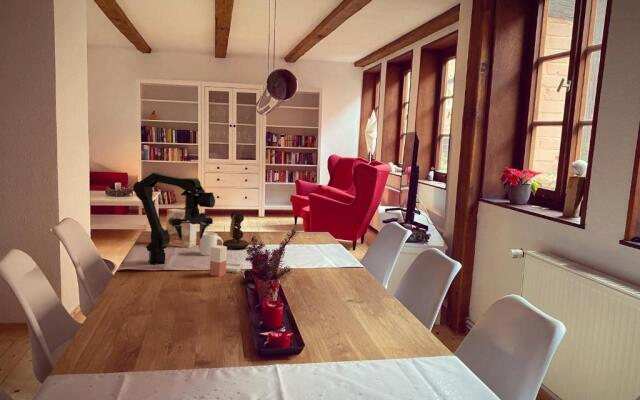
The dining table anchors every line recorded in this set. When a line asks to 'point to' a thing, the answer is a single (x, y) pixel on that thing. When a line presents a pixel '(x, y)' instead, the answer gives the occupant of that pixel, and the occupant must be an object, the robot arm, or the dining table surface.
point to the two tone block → (218, 260)
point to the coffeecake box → (187, 230)
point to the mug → (208, 242)
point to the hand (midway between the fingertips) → (190, 239)
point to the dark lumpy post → (236, 232)
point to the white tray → (233, 267)
